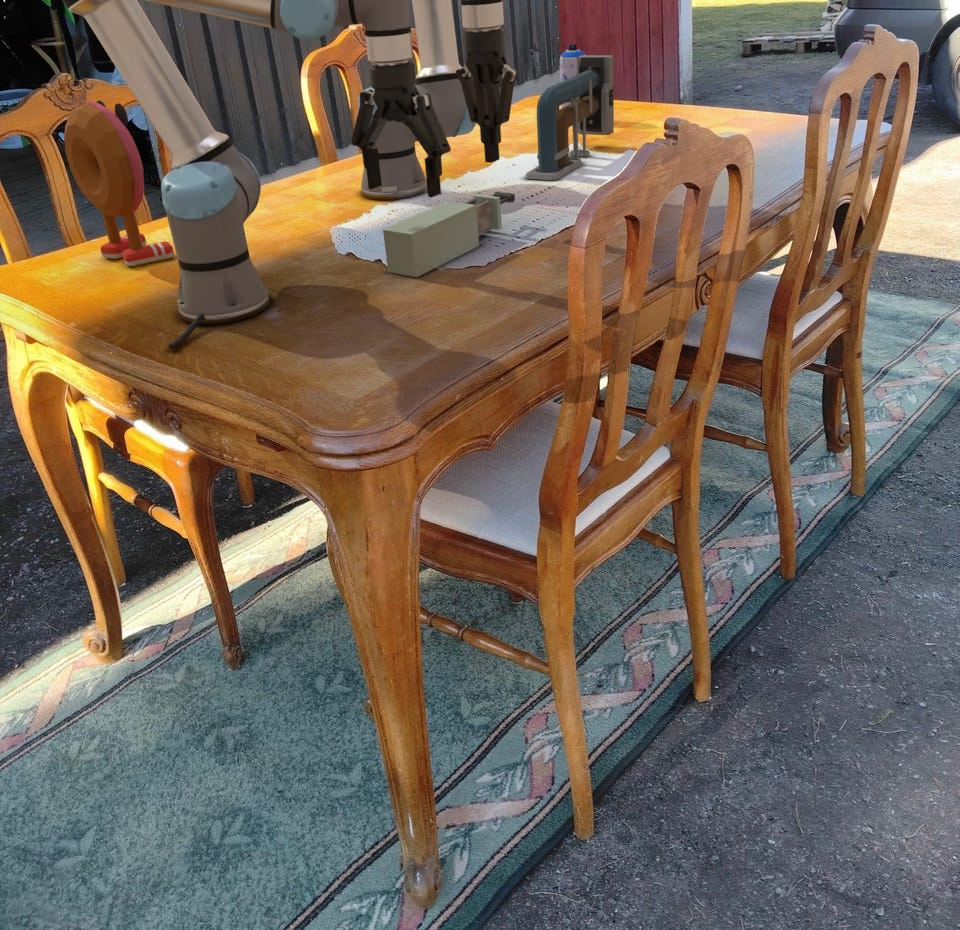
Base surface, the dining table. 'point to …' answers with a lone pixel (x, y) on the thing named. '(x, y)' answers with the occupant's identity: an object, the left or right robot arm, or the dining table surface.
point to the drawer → (490, 210)
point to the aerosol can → (569, 65)
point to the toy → (111, 178)
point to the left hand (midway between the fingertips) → (404, 191)
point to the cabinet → (431, 238)
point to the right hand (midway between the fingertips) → (492, 160)
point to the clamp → (574, 116)
